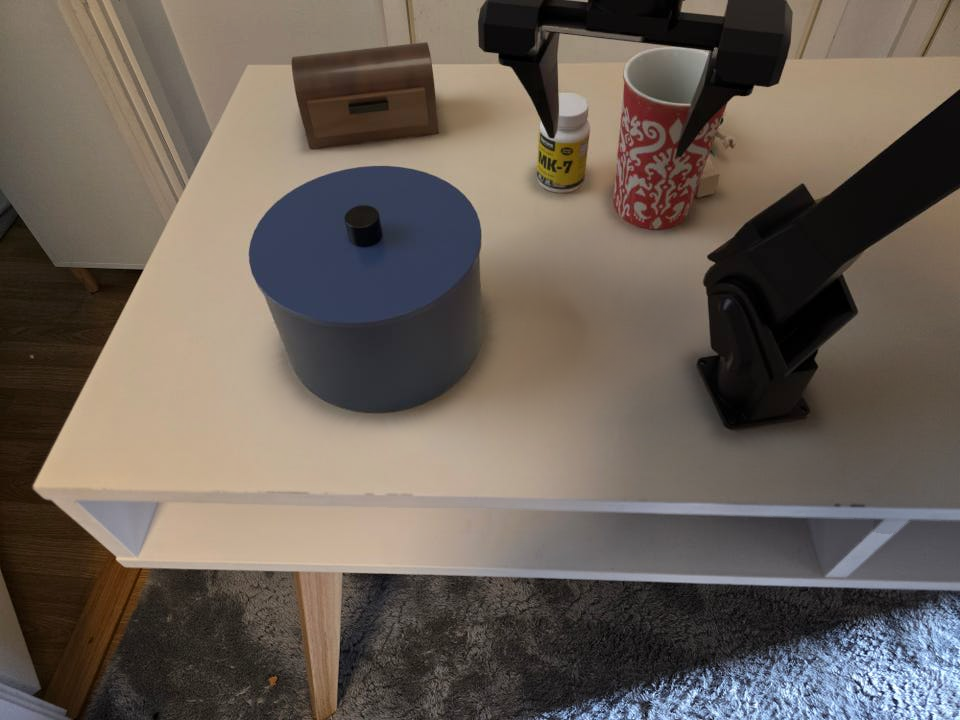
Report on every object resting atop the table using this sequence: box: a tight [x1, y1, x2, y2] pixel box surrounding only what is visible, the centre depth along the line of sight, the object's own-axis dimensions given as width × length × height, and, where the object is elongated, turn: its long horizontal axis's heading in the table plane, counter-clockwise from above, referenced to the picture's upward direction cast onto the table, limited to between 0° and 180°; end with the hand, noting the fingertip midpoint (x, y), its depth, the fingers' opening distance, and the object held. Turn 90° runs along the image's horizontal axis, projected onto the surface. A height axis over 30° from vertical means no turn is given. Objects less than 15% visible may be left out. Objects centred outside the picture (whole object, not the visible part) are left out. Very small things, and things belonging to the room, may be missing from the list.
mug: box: [612, 46, 728, 230], centre depth 61 cm, size 13×9×14 cm
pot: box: [248, 165, 483, 414], centre depth 52 cm, size 16×16×12 cm
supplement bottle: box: [536, 92, 591, 194], centre depth 65 cm, size 5×5×8 cm
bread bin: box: [291, 41, 440, 150], centre depth 72 cm, size 8×14×8 cm, turn 100°
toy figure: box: [695, 110, 737, 198], centre depth 69 cm, size 7×6×15 cm
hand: (614, 144), depth 49 cm, fingers open, 9 cm apart
